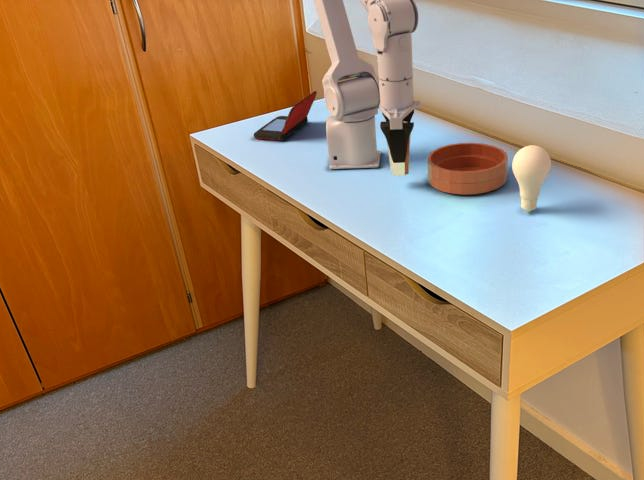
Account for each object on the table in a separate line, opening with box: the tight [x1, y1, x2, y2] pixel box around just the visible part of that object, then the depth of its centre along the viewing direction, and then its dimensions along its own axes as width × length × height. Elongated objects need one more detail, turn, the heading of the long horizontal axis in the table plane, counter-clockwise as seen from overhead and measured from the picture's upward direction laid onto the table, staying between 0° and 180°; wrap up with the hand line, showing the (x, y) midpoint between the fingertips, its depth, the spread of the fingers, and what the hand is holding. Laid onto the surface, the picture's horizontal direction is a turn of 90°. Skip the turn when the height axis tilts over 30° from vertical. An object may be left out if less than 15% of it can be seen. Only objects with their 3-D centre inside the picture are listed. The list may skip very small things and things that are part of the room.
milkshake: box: [385, 121, 412, 177], centre depth 126 cm, size 4×5×10 cm
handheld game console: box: [253, 90, 318, 142], centre depth 155 cm, size 12×11×7 cm
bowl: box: [427, 142, 509, 196], centre depth 130 cm, size 14×14×4 cm
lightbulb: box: [511, 144, 552, 213], centre depth 116 cm, size 6×6×11 cm
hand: (399, 156), depth 128 cm, fingers closed on milkshake, 5 cm apart
